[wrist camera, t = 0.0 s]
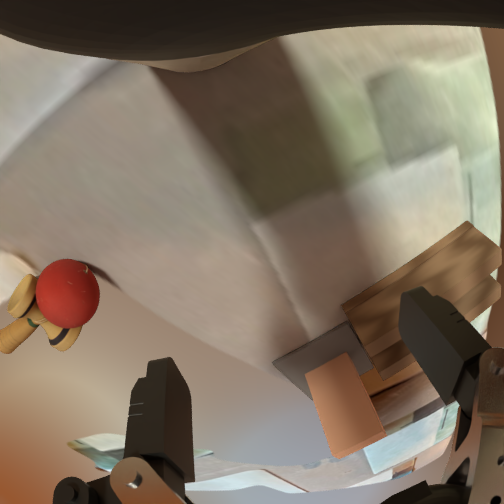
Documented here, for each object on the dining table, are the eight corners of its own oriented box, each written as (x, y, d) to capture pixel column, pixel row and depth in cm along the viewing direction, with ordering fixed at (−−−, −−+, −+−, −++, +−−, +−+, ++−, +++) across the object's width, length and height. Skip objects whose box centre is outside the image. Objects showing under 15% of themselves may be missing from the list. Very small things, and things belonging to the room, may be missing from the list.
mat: (311, 398, 43) (312, 400, 43) (272, 362, 37) (273, 364, 37) (372, 365, 42) (373, 367, 41) (346, 321, 35) (348, 323, 35)
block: (311, 381, 40) (339, 458, 30) (304, 374, 39) (332, 455, 29) (351, 360, 39) (387, 435, 29) (346, 351, 38) (382, 430, 28)
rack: (364, 345, 38) (383, 381, 33) (341, 305, 34) (363, 346, 29) (472, 270, 36) (500, 298, 30) (467, 220, 31) (501, 247, 26)
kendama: (40, 348, 33) (129, 297, 28) (17, 382, 27) (101, 342, 22) (1, 301, 30) (76, 229, 25) (-28, 332, 24) (35, 264, 19)
